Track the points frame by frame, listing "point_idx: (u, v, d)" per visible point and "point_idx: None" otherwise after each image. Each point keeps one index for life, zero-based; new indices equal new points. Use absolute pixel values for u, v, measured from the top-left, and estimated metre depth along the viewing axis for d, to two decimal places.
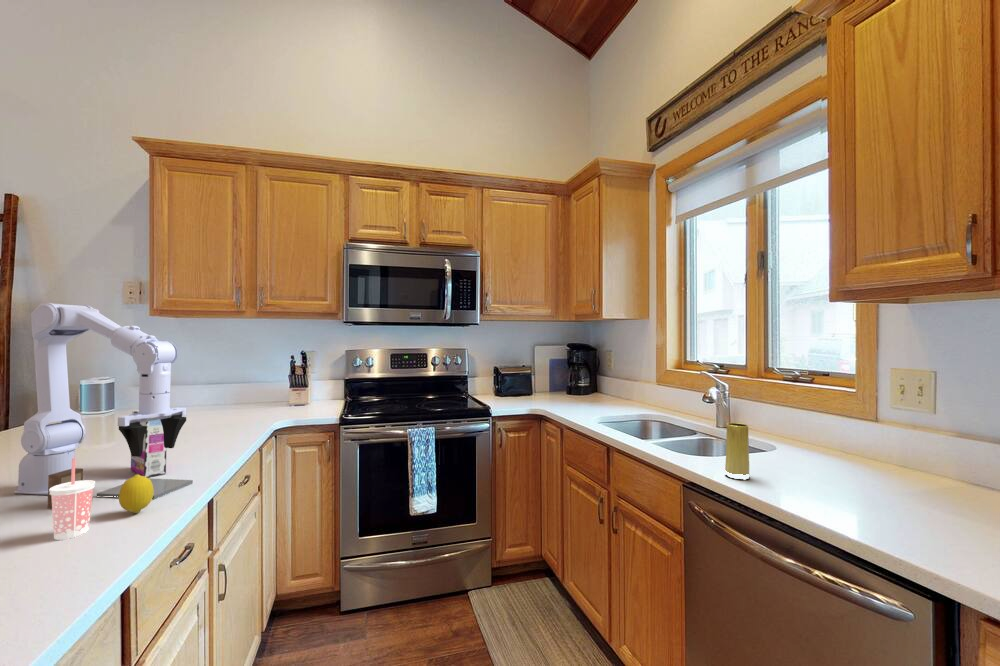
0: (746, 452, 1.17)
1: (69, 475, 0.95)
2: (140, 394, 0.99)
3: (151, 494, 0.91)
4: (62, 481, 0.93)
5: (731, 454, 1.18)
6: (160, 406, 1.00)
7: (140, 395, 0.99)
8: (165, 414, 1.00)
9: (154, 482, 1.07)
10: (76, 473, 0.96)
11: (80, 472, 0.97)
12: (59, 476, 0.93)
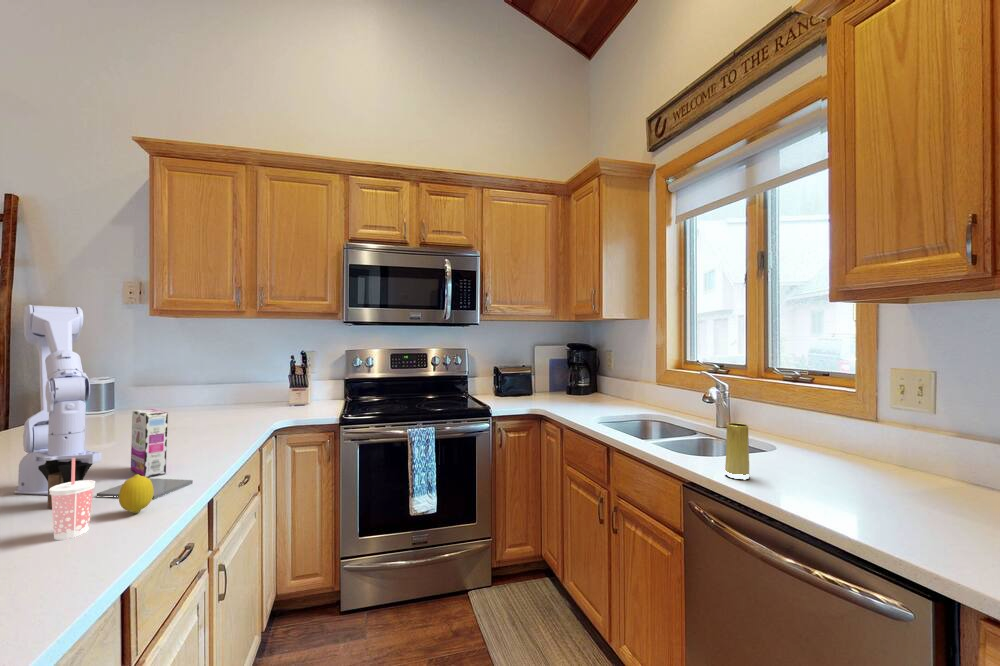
0: (746, 452, 1.17)
1: None
2: None
3: (151, 494, 0.91)
4: (62, 481, 0.93)
5: (731, 454, 1.18)
6: (49, 448, 0.93)
7: None
8: (43, 458, 0.91)
9: (154, 482, 1.07)
10: None
11: None
12: (59, 476, 0.93)
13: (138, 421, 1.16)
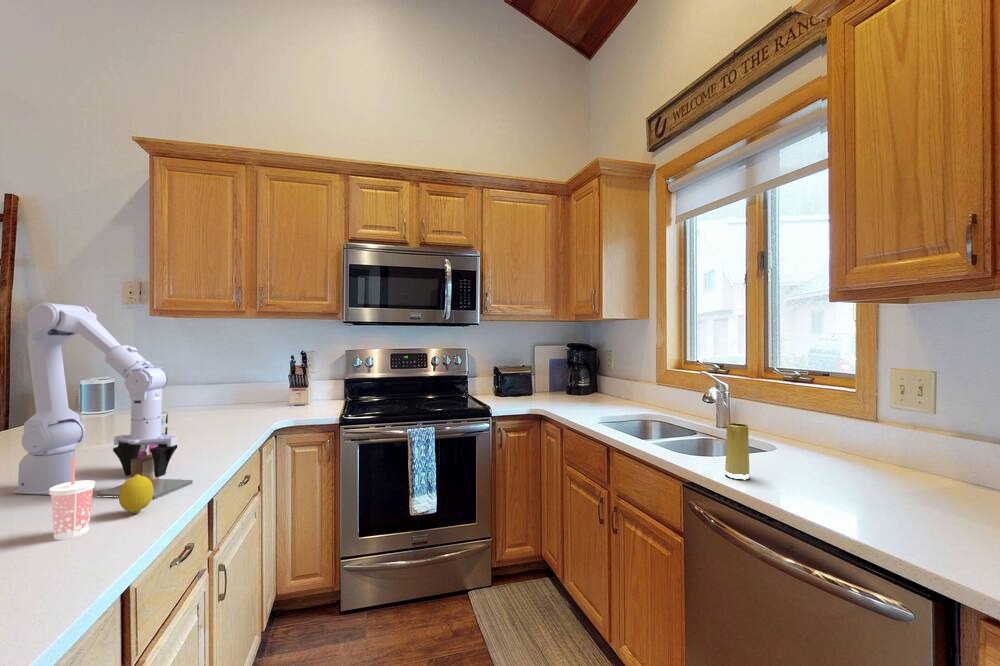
0: (746, 452, 1.17)
1: (148, 460, 1.04)
2: None
3: (151, 494, 0.91)
4: (143, 465, 1.02)
5: (731, 454, 1.18)
6: (132, 432, 1.02)
7: None
8: (128, 441, 1.01)
9: None
10: None
11: None
12: (141, 461, 1.02)
13: None
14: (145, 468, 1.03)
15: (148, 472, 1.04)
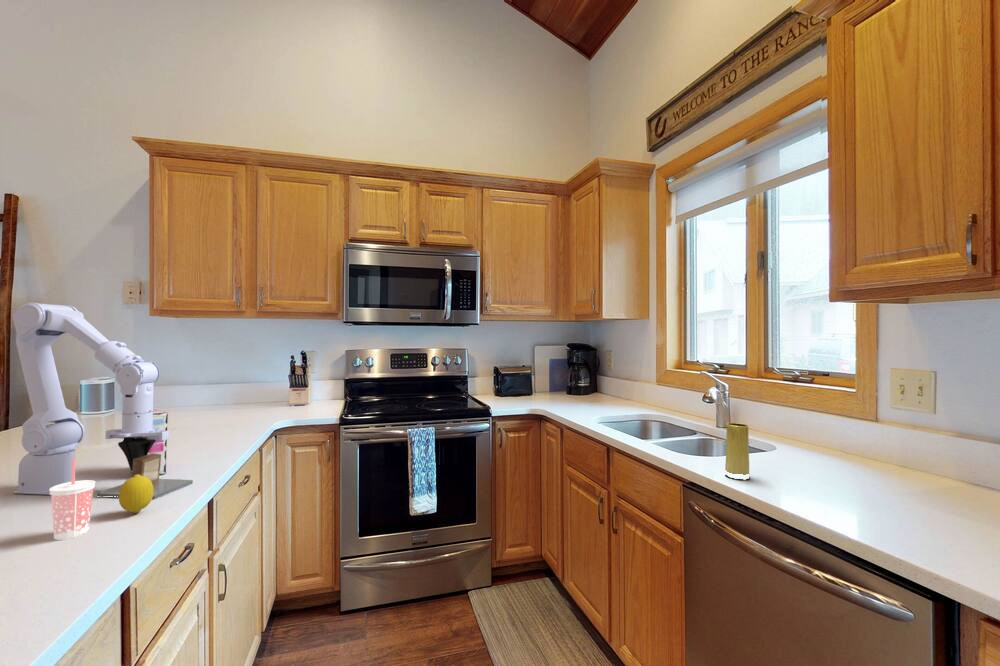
0: (746, 452, 1.17)
1: (150, 460, 1.04)
2: None
3: (151, 494, 0.91)
4: (145, 465, 1.02)
5: (731, 454, 1.18)
6: (123, 426, 1.02)
7: None
8: (119, 435, 1.01)
9: None
10: (156, 458, 1.05)
11: (159, 458, 1.06)
12: (143, 461, 1.02)
13: None
14: (147, 468, 1.03)
15: (149, 472, 1.04)
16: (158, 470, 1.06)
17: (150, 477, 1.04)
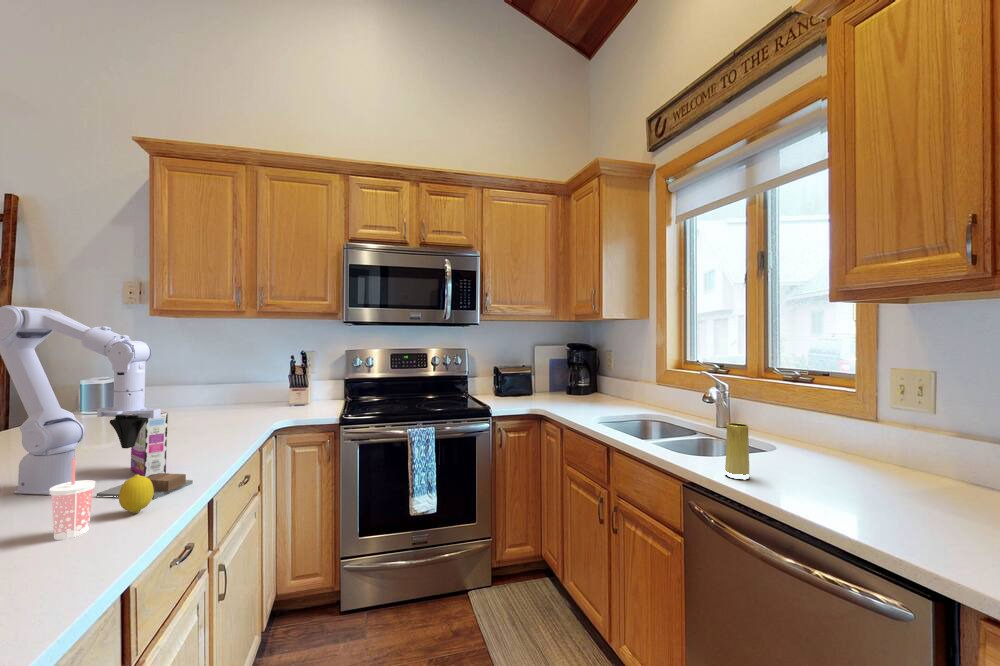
0: (746, 452, 1.17)
1: None
2: None
3: (151, 494, 0.91)
4: None
5: (731, 454, 1.18)
6: (115, 403, 1.02)
7: None
8: (110, 412, 1.01)
9: None
10: None
11: None
12: None
13: None
14: None
15: None
16: None
17: None
